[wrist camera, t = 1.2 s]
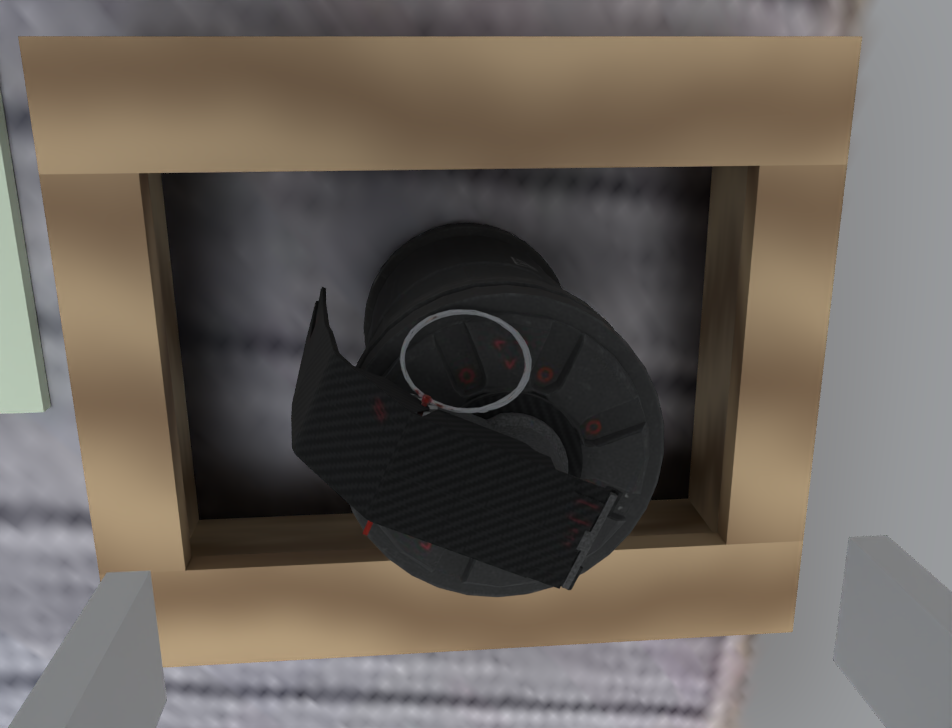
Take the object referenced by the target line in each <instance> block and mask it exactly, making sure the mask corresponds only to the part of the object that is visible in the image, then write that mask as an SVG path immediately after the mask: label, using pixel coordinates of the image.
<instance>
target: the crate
mask: <svg viewBox="0 0 952 728" xmlns="http://www.w3.org/2000/svg"><path fill="white" fill-rule="evenodd" d="M18 38H19V45H20V51H21V58H22V65H23V71H24V78H25V85H26V91H27V98H28V104H29V111H30V118H31V124H32V131H33V138H34V144H35V151H36V158H37V164H38V171H39V177H40V184H41V191H42V197H43V204H44V211H45V217H46V224H47V230H48V237H49V244H50V250H51V257H52V264H53V270H54V277H55V283H56V290H57V297H58V303H59V310H60V317H61V323H62V330H63V337H64V343H65V350H66V356H67V363H68V370H69V376H70V383H71V390H72V396H73V403H74V409H75V416H76V423H77V429H78V436H79V443H80V449H81V456H82V463H83V469H84V476H85V482H86V489H87V496H88V502H89V509H90V516H91V522H92V529H93V535H94V542H95V549H96V555H97V562H98V569H99V575H100V582H101V581H102V579H103V578H104V576H105V575H106V573H110V572H131V571H150V572H151V580H152V587H153V595H154V603H155V611H156V619H157V626H158V634H159V642H160V650H161V658H162V665H163V667H180V666H198V665H216V664H233V663H251V662H269V661H287V660H304V659H322V658H340V657H358V656H375V655H393V654H411V653H429V652H446V651H464V650H482V649H500V648H517V647H535V646H553V645H571V644H588V643H606V642H624V641H642V640H659V639H677V638H695V637H713V636H730V635H748V634H766V633H783V632H792V631H793V622H794V614H795V606H796V597H797V588H798V580H799V571H800V562H801V554H802V546H803V537H804V528H805V519H806V512H807V503H808V494H809V486H810V477H811V469H812V460H813V452H814V443H815V434H816V426H817V416H818V409H819V400H820V392H821V382H822V375H823V365H824V357H825V349H826V341H827V332H828V324H829V314H830V307H831V298H832V290H833V281H834V272H835V264H836V255H837V247H838V238H839V229H840V221H841V213H842V204H843V196H844V187H845V178H846V170H847V161H848V153H849V144H850V136H851V127H852V119H853V110H854V102H855V93H856V84H857V76H858V67H859V59H860V50H861V42H862V37H843V36H842V37H841V36H840V37H839V36H838V37H837V36H18ZM690 166H712V178H711V191H710V205H709V219H708V233H707V247H706V260H705V274H704V288H703V302H702V316H701V329H700V343H699V357H698V371H697V385H696V398H695V412H694V426H693V440H692V454H691V467H690V481H689V495H688V499H670V500H650V502H649V504H648V507H647V509H646V511H645V512H644V514H643V515H642V516H641V518H640V519H639V521H638V522H637V524H636V525H635V527H634V528H633V530H632V531H631V533H630V534H629V535H628V536H627V537H626V538H625V539H624V540H623V541H622V542H621V543H620V544H619V546H618V547H617V548H616V549H615V550H614V551H613V552H612V553H611V554H610V555H609V556H607V557H606V558H604V559H603V560H602V561H600V562H599V563H597V564H596V565H595V566H593V567H592V568H590V569H589V570H588V571H586V572H585V573H583V574H581V575H579V577H578V579H577V580H576V582H575V584H574V586H573V588H572V590H567V589H565V588H562V586H561V587H560V589H558V588H555V587H552V588H548V589H545V590H541V591H538V592H534V593H530V594H525V595H516V596H506V597H485V596H470V595H464V594H460V593H457V592H453V591H449V590H445V589H441V588H438V587H435V586H433V585H431V584H429V583H427V582H424V581H422V580H420V579H418V578H416V577H414V576H411V575H410V574H409V573H407V572H406V571H405V570H403V569H402V568H400V567H399V566H398V565H396V564H395V563H393V562H392V561H391V560H389V559H388V558H387V557H386V556H385V555H384V554H383V553H382V552H381V551H380V550H379V549H378V548H377V547H376V545H375V544H374V543H373V542H372V541H371V540H370V539H369V538H368V537H367V535H364V534H362V533H363V531H364V530H363V529H362V527H361V525H360V524H359V522H358V520H357V519H356V517H355V515H354V514H353V513H347V514H324V515H301V516H278V517H254V518H231V519H208V520H199V514H198V505H197V496H196V487H195V477H194V468H193V459H192V450H191V441H190V432H189V423H188V414H187V405H186V396H185V387H184V378H183V369H182V360H181V351H180V342H179V332H178V323H177V314H176V305H175V296H174V287H173V278H172V269H171V260H170V251H169V242H168V233H167V224H166V215H165V206H164V196H163V187H162V178H161V173H196V172H279V171H361V170H443V169H525V168H607V167H690Z"/></svg>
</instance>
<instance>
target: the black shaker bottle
mask: <svg viewBox="0 0 952 728" xmlns="http://www.w3.org/2000/svg"><path fill="white" fill-rule="evenodd" d="M364 335H365V345H366V349H365V351H364V353H363V354H362V356H361V358H360V360H359V362H358V363H357V365H356V367H355V366H353V365H352V364H351V363H349V362H348V361H347V360H346V359H345V358H344V357H343V356H342V355H341V354H340V353H339V351H338V348H337V345H336V341H335V338H334V335H333V331H332V330H331V328H330V326H329V321H328V314H327V307H326V288H324V287H322V289H321V292H320V298H319V301H316V303H315V307H314V311H313V315H312V319H311V323H310V327H309V331H308V335H307V339H306V343H305V347H304V352H303V356H302V361H301V366H300V370H299V375H298V379H297V384H296V388H295V393H294V397H293V402H292V415H291V422H292V449H293V451H294V453H295V454H296V455H297V456H298V457H299V458H300V459H301V460H302V461H303V462H304V463H305V464H306V465H307V466H308V467H309V468H310V469H312V470H313V471H314V472H315V473H316V474H317V475H318V476H319V477H320V478H321V479H322V480H324V481H325V482H326V483H327V484H328V485H329V486H330V487H331V488H332V489H333V490H335V491H336V492H337V493H338V494H339V495H340V496H341V497H342V498H343V499H344V500H346V501H347V502H348V503H349V504H350V507H351V510H352V512H353V514H354V515H355V517H356V519H357V520H358V522H359V524H360V525H361V527H362V529H363V530H364V531H363V533H362V534H364V535H367V537H368V538H369V539H370V540H371V541H372V542H373V543H374V544H375V545H376V547H377V548H378V549H379V550H380V551H381V552H382V553H383V554H384V555H385V556H386V557H387V558H388V559H389V560H391V561H392V562H393V563H395V564H396V565H398V566H399V567H400V568H402V569H403V570H405V571H406V572H407V573H409V574H410V575H411V576H414V577H416V578H418V579H420V580H422V581H424V582H427V583H429V584H431V585H433V586H435V587H438V588H441V589H445V590H449V591H453V592H457V593H460V594H464V595H470V596H485V597H506V596H516V595H525V594H530V593H534V592H538V591H541V590H545V589H548V588H552V587H555V588H558V589H560V587H561V586H562V588H565V589H567V590H572V588H573V586H574V584H575V582H576V580H577V579H578V577H579V575H581V574H583V573H585V572H586V571H588V570H589V569H590V568H592V567H593V566H595V565H596V564H597V563H599V562H600V561H602V560H603V559H604V558H606V557H607V556H609V555H610V554H611V553H612V552H613V551H614V550H615V549H616V548H617V547H618V546H619V544H620V543H621V542H622V541H623V540H624V539H625V538H626V537H627V536H628V535H629V534H630V533H631V531H632V530H633V528H634V527H635V525H636V524H637V522H638V521H639V519H640V518H641V516H642V515H643V514H644V512H645V511H646V509H647V507H648V504H649V502H650V499H651V497H652V495H653V492H654V490H655V488H656V485H657V483H658V479H659V474H660V469H661V465H662V460H663V455H664V422H663V417H662V413H661V408H660V403H659V399H658V395H657V392H656V390H655V388H654V386H653V383H652V381H651V379H650V377H649V375H648V372H647V370H646V368H645V366H644V365H643V364H642V362H641V361H640V360H639V358H638V357H637V356H636V354H635V353H634V352H633V350H632V349H631V348H630V346H629V345H628V344H627V342H626V341H625V340H624V339H623V338H622V337H621V336H620V335H619V334H618V333H617V332H616V331H615V330H614V329H613V327H612V326H611V325H610V324H609V323H608V322H607V321H606V320H605V319H604V318H602V317H601V316H600V315H599V314H598V313H597V312H596V311H594V310H593V309H592V308H591V307H590V306H589V305H588V304H586V303H585V302H584V301H582V300H580V299H578V298H577V297H575V296H573V295H571V294H570V293H568V292H566V291H564V290H563V289H562V288H561V286H560V284H559V282H558V279H557V277H556V275H555V274H554V272H553V271H552V270H551V268H550V267H549V266H548V264H547V263H546V262H545V260H544V259H543V258H542V257H541V256H540V255H539V254H538V253H537V252H536V251H535V250H534V249H533V248H531V247H530V246H529V245H528V244H527V243H526V242H524V241H523V240H521V239H519V238H517V237H516V236H514V235H512V234H510V233H509V232H506V231H503V230H500V229H497V228H494V227H491V226H487V225H479V224H470V223H466V224H453V225H446V226H443V227H439V228H436V229H432V230H429V231H427V232H425V233H423V234H421V235H419V236H417V237H415V238H413V239H411V240H410V241H408V242H407V243H406V244H405V245H403V246H402V247H401V248H400V249H398V250H397V251H396V252H395V253H394V254H393V255H392V256H391V257H390V259H389V260H388V261H387V262H386V263H385V264H384V266H383V267H382V268H381V270H380V272H379V274H378V275H377V277H376V279H375V281H374V283H373V285H372V288H371V291H370V294H369V297H368V301H367V304H366V310H365V321H364Z"/></svg>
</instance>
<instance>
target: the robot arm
mask: <svg viewBox="0 0 952 728" xmlns="http://www.w3.org/2000/svg"><path fill="white" fill-rule="evenodd" d="M833 661H834V662H835V663H836V665H837V666H838V667H839V669H840V670H841V671H842V672H843V674H844V675H845V676H846V677H847V679H848V680H849V681H850V682H851V684H852V685H853V686H854V688H855V689H856V690H857V691H858V693H859V694H860V695H861V696H862V698H863V699H864V700H865V701H866V703H867V704H868V705H869V707H870V708H871V709H872V710H873V712H874V713H875V714H876V716H877V717H878V718H879V719H880V721H881V722H882V723H883V724H884V726H885V727H886V728H952V592H951V591H950V590H949V589H948V588H947V587H945V585H943V584H942V583H941V582H940V581H939V580H938V579H937V578H935V577H934V576H933V575H932V574H931V573H930V572H928V571H927V570H926V569H925V568H924V567H923V566H922V565H920V564H919V563H918V562H917V561H916V560H915V559H913V558H912V557H911V556H910V555H909V554H908V553H907V552H906V551H904V550H903V549H902V548H901V547H900V546H898V544H896V543H895V542H894V541H893V540H892V539H891V538H889V537H888V536H887V535H883V536H862V537H849V540H848V548H847V556H846V564H845V571H844V579H843V586H842V594H841V602H840V610H839V617H838V625H837V633H836V641H835V648H834V656H833ZM166 701H167V697H166V689H165V681H164V673H163V665H162V658H161V650H160V642H159V634H158V626H157V619H156V611H155V603H154V595H153V587H152V580H151V572H150V571H131V572H110V573H106V575H105V576H104V578H103V579H102V581H101V582H100V584H99V585H98V587H97V589H96V590H95V592H94V593H93V595H92V596H91V598H90V600H89V601H88V603H87V604H86V606H85V607H84V609H83V611H82V612H81V614H80V615H79V617H78V618H77V620H76V622H75V623H74V625H73V626H72V628H71V629H70V631H69V633H68V634H67V636H66V637H65V639H64V640H63V642H62V644H61V645H60V647H59V648H58V650H57V651H56V653H55V655H54V656H53V658H52V659H51V661H50V662H49V664H48V666H47V667H46V669H45V670H44V672H43V673H42V675H41V677H40V678H39V680H38V681H37V683H36V684H35V686H34V688H33V689H32V691H31V692H30V694H29V695H28V697H27V699H26V700H25V702H24V703H23V705H22V706H21V708H20V710H19V711H18V713H17V714H16V716H15V717H14V719H13V721H12V722H11V724H10V725H9V727H8V728H156V726H157V724H158V721H159V719H160V716H161V714H162V711H163V709H164V706H165V703H166Z"/></svg>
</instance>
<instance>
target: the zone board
mask: <svg viewBox="0 0 952 728" xmlns="http://www.w3.org/2000/svg"><path fill="white" fill-rule="evenodd" d="M50 406H51V404H50V398H49V391H48V385H47V379H46V373H45V366H44V360H43V354H42V347H41V341H40V335H39V329H38V322H37V316H36V310H35V303H34V297H33V291H32V285H31V278H30V272H29V266H28V260H27V253H26V247H25V241H24V234H23V228H22V222H21V216H20V209H19V203H18V197H17V190H16V184H15V178H14V172H13V165H12V159H11V153H10V146H9V140H8V134H7V128H6V121H5V115H4V109H3V102H2V96H1V90H0V414H5V413H36V412H45V411H46V410H47V409H48V408H49V407H50Z"/></svg>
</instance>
